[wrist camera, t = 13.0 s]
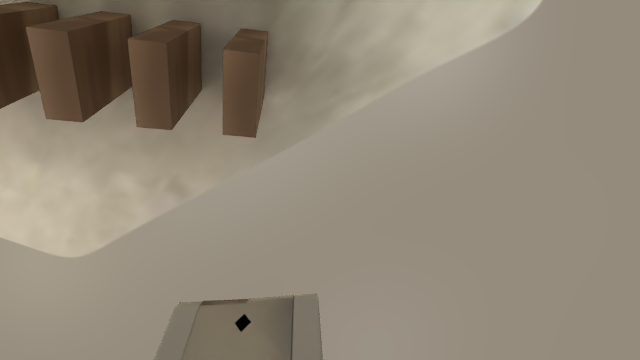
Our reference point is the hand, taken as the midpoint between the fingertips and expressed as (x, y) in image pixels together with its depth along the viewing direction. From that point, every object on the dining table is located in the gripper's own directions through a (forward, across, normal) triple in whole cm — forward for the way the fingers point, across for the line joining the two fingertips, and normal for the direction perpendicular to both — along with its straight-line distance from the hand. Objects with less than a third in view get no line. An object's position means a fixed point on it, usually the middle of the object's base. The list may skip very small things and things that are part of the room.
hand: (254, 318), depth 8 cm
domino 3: (+25, +8, -2) cm, 26 cm away
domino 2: (+25, +13, -3) cm, 28 cm away
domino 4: (+25, +3, -1) cm, 25 cm away
